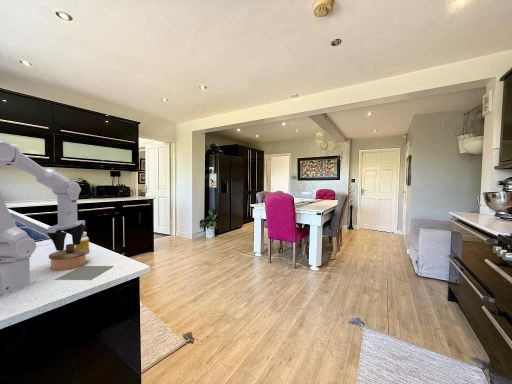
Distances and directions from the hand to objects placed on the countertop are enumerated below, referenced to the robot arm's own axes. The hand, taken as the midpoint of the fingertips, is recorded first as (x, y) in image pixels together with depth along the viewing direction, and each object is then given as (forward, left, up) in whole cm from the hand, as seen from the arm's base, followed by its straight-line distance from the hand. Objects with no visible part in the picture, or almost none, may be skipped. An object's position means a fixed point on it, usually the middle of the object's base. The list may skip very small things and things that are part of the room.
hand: (68, 247), depth 86 cm
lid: (0, -1, -3) cm, 3 cm away
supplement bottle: (+14, +6, -8) cm, 17 cm away
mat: (-7, -12, -7) cm, 16 cm away
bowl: (0, 0, -7) cm, 7 cm away
